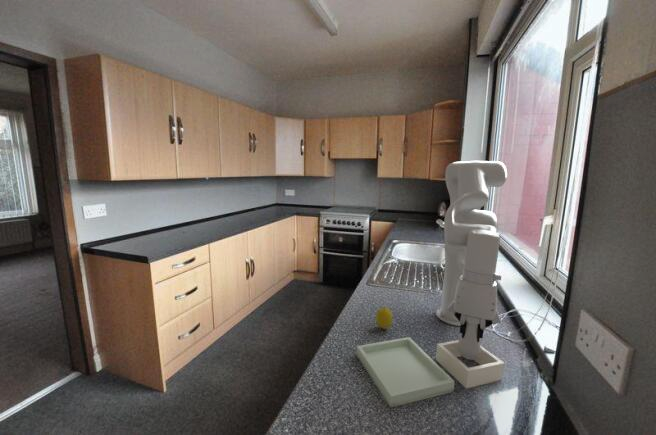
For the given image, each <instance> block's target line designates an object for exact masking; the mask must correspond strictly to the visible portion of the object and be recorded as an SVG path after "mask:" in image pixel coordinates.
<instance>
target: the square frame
mask: <svg viewBox="0 0 656 435" xmlns="http://www.w3.org/2000/svg"><path fill="white" fill-rule="evenodd" d="M458 342H459V339H456V340H451V341H445V342H441V343H440V342H439V343H437V344H436V353H435V360H436V362H438V363H439V364H440V365H441V366H442V367H443V368H444V369H445V370H446V371H447V372H448V373H449V374H450V375H452V377H454V379H455V380H456V381H457V382H459V383H460V384H461V385H462V386H463V387H464V388H465V389H471V388H474V387H479V386H481V385H486V384H487V385H488V384H491V383H494V382H498V381H501V380H503V375H504V368H505V362H504V361H503V360H501V359H500V358H498V357H497V356H496V355H494V354H493V353H492V352H490V351H489V350H487V349H486V348H484V347H483V346H482V345H480V354H479V355H478V356H477V357H476V358H475V360H474V362H476V363H477V364H478V365H476V366H471V367H468V366H467V365H466V364H465V363H463V362H462V361H461V360H460V359H459V358H461V357H463V356H461V353H460V351H459V348H458Z"/></svg>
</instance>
